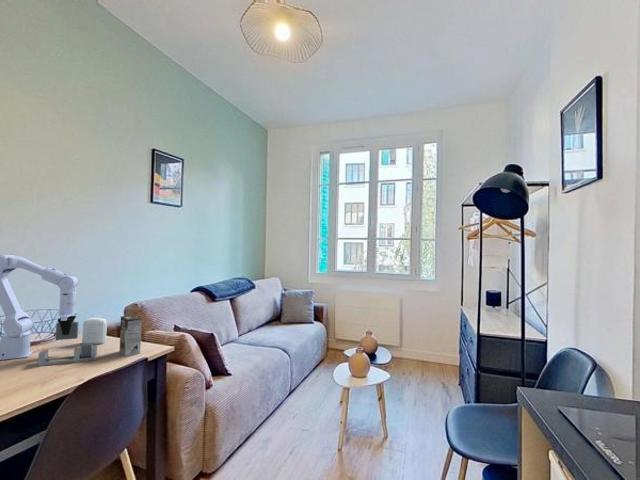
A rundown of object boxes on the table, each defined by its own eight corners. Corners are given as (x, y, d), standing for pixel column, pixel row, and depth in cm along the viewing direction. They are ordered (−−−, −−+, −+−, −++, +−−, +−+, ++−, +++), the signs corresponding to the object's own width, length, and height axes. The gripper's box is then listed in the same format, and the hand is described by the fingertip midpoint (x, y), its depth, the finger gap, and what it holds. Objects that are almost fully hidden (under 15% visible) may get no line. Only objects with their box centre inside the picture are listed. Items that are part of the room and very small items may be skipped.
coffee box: (118, 351, 152) (120, 316, 153) (134, 348, 157) (135, 314, 157) (124, 356, 146) (126, 319, 146) (140, 353, 151) (142, 317, 151)
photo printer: (107, 341, 166) (108, 317, 166) (103, 344, 162) (104, 318, 162) (85, 341, 165) (86, 317, 165) (80, 344, 161) (81, 318, 161)
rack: (37, 366, 132) (38, 351, 132) (41, 361, 136) (42, 347, 137) (95, 360, 140) (95, 345, 141) (96, 356, 145) (97, 342, 145)
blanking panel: (55, 340, 144) (56, 324, 144) (56, 338, 146) (57, 322, 146) (76, 338, 148) (77, 322, 148) (77, 337, 150) (78, 321, 150)
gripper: (75, 305, 143) (74, 337, 142) (81, 300, 155) (80, 329, 155) (55, 306, 139) (53, 338, 139) (62, 300, 152) (61, 330, 152)
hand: (66, 333), depth 147 cm, fingers closed on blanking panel, 2 cm apart
